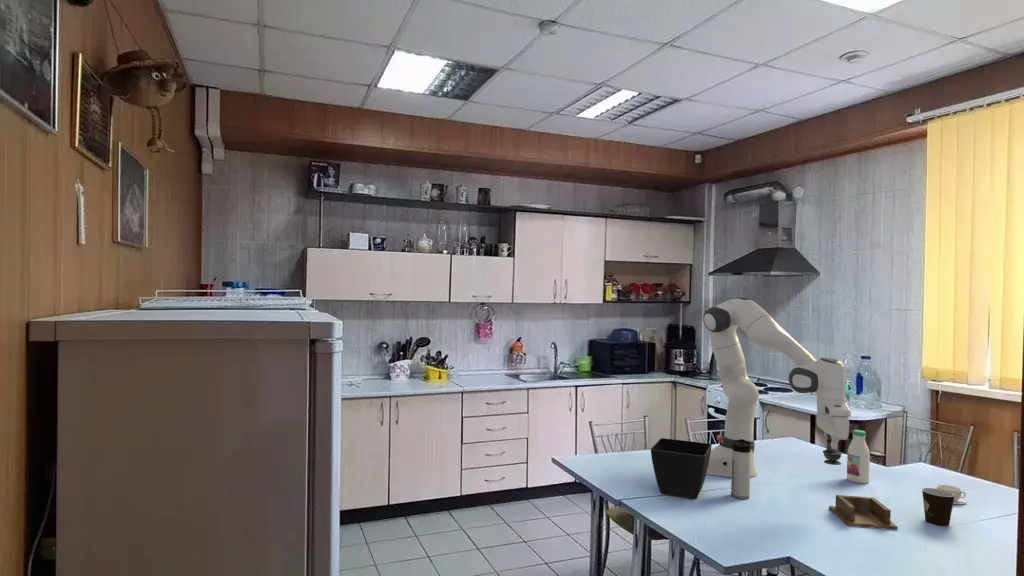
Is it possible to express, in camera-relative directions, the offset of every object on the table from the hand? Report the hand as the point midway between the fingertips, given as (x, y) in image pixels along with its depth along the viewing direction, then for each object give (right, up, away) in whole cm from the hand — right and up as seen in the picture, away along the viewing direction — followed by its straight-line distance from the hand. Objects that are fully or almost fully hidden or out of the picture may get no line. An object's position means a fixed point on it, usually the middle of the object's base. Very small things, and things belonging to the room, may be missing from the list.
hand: (831, 446), depth 204 cm
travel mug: (-27, -21, +12) cm, 36 cm away
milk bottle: (+29, -23, +35) cm, 51 cm away
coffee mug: (+31, -23, -7) cm, 39 cm away
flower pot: (-48, -21, +15) cm, 54 cm away
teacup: (+51, -24, +15) cm, 58 cm away
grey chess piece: (0, -6, 0) cm, 6 cm away
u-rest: (+6, -22, -7) cm, 24 cm away
